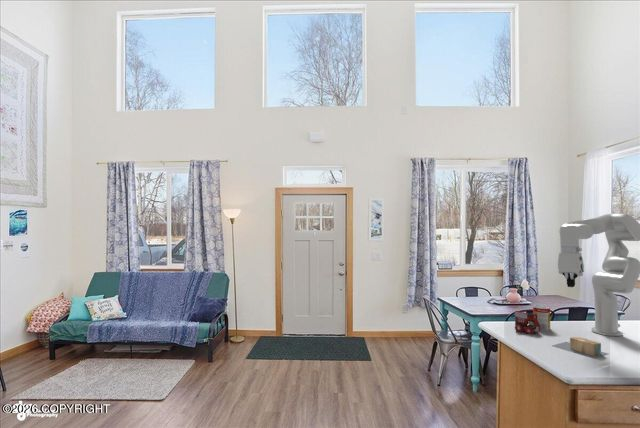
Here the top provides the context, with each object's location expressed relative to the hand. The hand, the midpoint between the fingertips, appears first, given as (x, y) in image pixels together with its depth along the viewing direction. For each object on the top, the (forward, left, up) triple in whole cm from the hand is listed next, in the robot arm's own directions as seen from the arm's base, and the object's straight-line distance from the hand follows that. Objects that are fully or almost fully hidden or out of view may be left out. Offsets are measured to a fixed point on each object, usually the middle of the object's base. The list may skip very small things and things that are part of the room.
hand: (571, 286), depth 179 cm
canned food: (-5, -18, -27) cm, 33 cm away
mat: (+13, +10, -26) cm, 31 cm away
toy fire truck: (+8, -18, -27) cm, 33 cm away
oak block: (+13, +7, -24) cm, 28 cm away
